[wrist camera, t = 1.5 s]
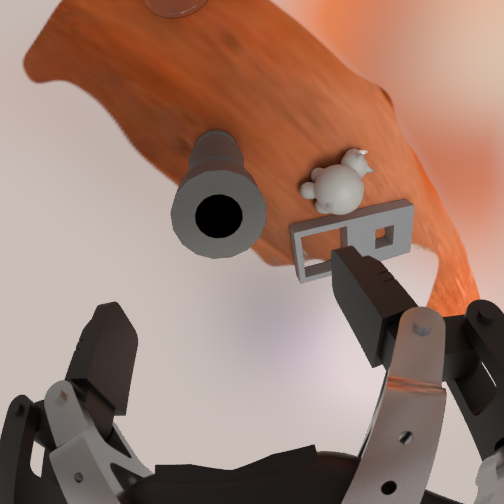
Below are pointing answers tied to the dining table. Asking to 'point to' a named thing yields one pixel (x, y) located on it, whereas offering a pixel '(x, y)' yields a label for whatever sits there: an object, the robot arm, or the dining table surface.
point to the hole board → (358, 234)
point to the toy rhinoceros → (338, 184)
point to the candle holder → (218, 200)
